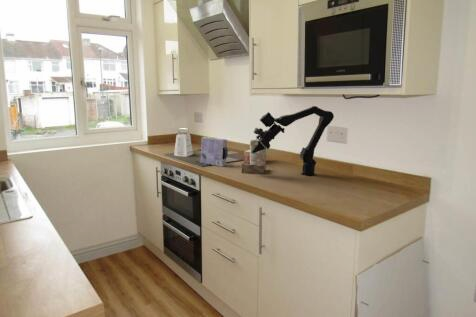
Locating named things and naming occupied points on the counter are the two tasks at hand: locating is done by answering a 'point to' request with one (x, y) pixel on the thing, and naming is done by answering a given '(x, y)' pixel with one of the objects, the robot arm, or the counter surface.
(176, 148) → the grater
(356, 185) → the counter surface
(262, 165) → the groove block
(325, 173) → the counter surface
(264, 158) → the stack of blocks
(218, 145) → the cake pan box
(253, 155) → the mottled grey cylinder
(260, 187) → the counter surface
